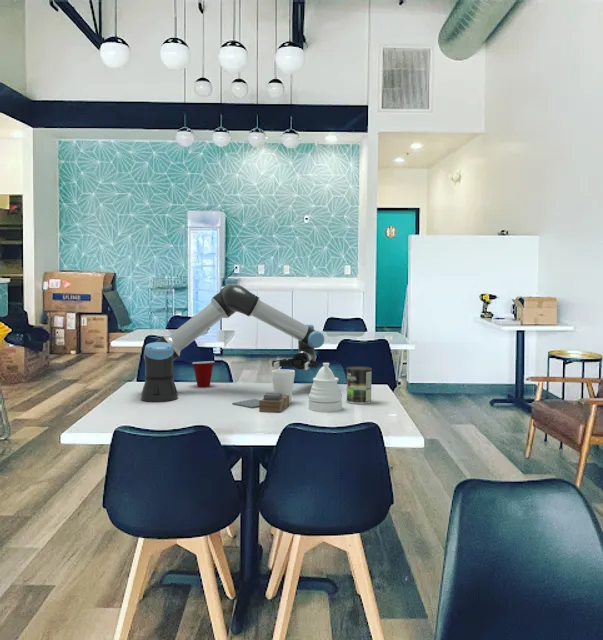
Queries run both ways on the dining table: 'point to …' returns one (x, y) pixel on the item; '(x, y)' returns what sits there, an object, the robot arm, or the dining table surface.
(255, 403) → the coaster
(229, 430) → the dining table surface
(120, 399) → the dining table surface
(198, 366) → the plastic cup
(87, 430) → the dining table surface
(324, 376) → the honey pot
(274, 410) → the walnut block
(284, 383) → the foam cup
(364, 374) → the coffee can
